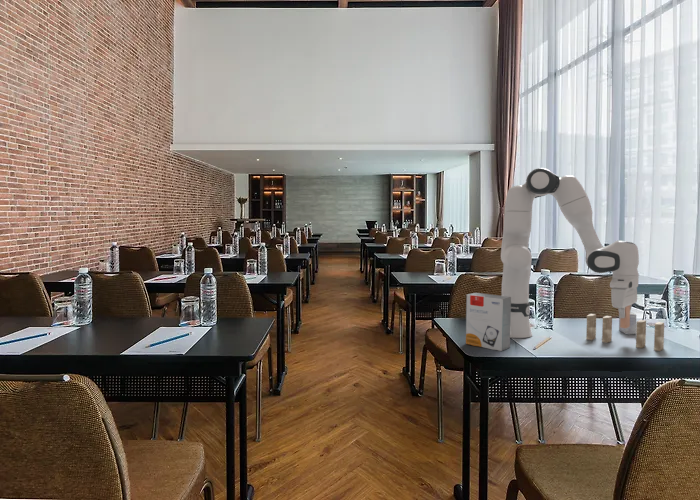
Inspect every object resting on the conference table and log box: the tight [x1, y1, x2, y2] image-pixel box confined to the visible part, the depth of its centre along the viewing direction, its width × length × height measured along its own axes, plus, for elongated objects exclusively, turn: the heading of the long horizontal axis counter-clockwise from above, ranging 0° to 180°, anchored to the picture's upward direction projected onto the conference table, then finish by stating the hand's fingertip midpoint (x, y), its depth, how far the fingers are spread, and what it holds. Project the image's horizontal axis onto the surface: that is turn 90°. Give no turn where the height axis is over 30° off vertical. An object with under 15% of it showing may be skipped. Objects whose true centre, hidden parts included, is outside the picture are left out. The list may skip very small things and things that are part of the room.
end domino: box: [653, 321, 665, 352], centre depth 177 cm, size 2×5×10 cm, turn 135°
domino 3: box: [620, 305, 631, 328], centre depth 185 cm, size 2×5×10 cm, turn 134°
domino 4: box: [635, 319, 647, 349], centre depth 182 cm, size 2×5×10 cm, turn 135°
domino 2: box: [601, 315, 613, 343], centre depth 190 cm, size 2×5×10 cm, turn 135°
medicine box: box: [618, 311, 637, 335], centre depth 206 cm, size 8×4×9 cm, turn 168°
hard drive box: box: [465, 292, 511, 352], centre depth 183 cm, size 16×8×20 cm, turn 46°
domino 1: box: [585, 313, 597, 341], centre depth 194 cm, size 2×5×10 cm, turn 135°
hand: (624, 316), depth 185 cm, fingers closed on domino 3, 5 cm apart
